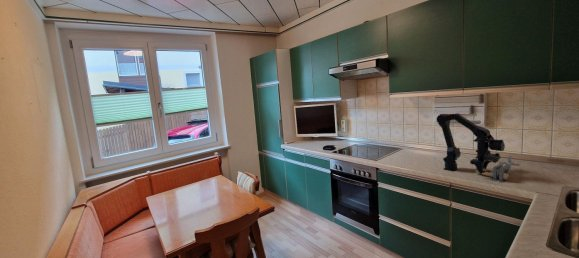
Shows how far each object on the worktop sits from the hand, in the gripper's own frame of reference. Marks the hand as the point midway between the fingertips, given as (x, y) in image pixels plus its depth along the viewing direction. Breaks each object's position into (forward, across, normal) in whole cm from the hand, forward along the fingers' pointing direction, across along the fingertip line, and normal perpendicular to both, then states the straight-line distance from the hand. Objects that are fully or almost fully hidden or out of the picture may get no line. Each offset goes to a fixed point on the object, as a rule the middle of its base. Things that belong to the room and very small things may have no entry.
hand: (482, 172), depth 161 cm
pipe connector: (+2, +19, -7) cm, 20 cm away
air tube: (+2, 0, -5) cm, 5 cm away
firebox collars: (+2, 0, -10) cm, 10 cm away
